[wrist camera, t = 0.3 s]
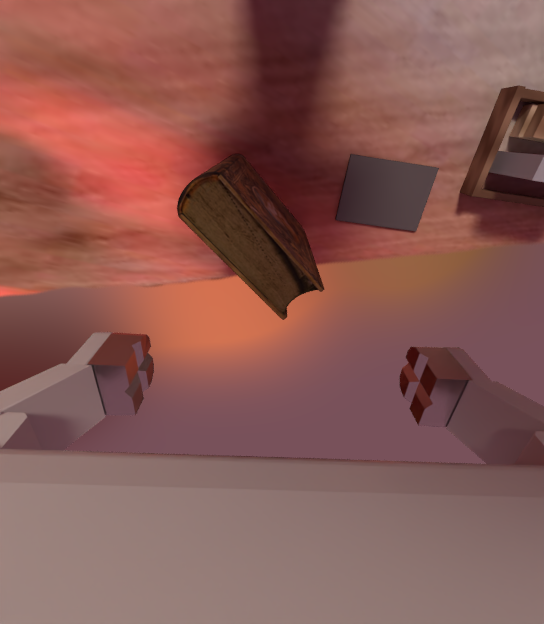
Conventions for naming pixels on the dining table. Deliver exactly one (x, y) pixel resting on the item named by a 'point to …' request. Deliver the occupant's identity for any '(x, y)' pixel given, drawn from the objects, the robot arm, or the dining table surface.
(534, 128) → the offcut short
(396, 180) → the mat
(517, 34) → the dining table surface
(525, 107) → the block
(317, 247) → the dining table surface
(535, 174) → the block
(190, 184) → the book
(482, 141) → the brown open frame piece
